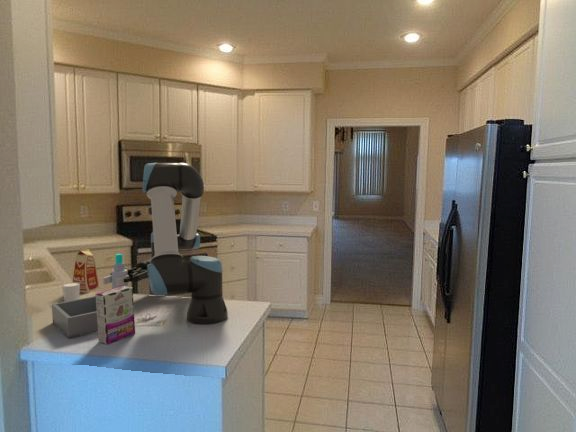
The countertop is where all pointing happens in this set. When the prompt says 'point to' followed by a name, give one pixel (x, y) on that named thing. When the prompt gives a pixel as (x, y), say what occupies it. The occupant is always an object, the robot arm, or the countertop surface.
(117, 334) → the candy bar box
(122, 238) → the countertop surface
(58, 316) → the tote
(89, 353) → the countertop surface
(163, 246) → the robot arm
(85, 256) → the milk carton
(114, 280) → the spray bottle
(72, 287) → the white cylinder
